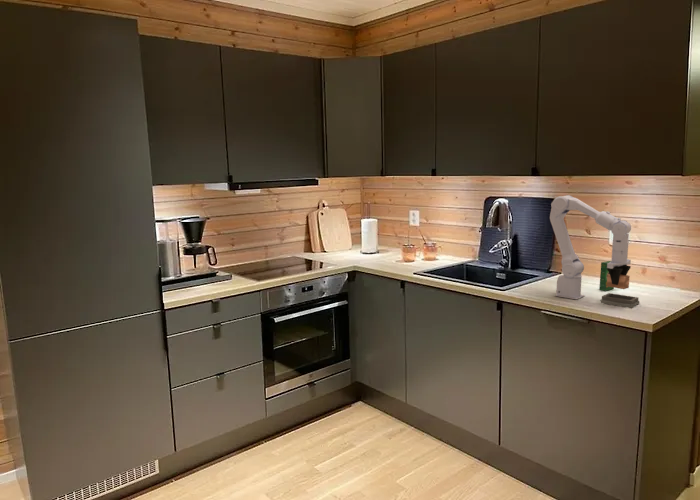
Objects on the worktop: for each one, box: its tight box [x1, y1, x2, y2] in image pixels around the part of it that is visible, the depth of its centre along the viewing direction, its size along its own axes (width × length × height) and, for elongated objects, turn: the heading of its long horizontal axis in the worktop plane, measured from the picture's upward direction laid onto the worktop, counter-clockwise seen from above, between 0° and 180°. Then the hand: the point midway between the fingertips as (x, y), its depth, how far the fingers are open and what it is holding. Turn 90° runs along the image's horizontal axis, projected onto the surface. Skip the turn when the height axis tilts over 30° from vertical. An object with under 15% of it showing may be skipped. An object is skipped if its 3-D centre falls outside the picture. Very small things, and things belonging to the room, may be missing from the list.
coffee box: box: [598, 260, 615, 292], centre depth 240 cm, size 8×3×13 cm, turn 124°
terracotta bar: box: [607, 274, 630, 290], centre depth 216 cm, size 4×7×5 cm, turn 35°
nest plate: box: [599, 292, 640, 309], centre depth 218 cm, size 12×9×3 cm
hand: (617, 283), depth 216 cm, fingers closed on terracotta bar, 4 cm apart
